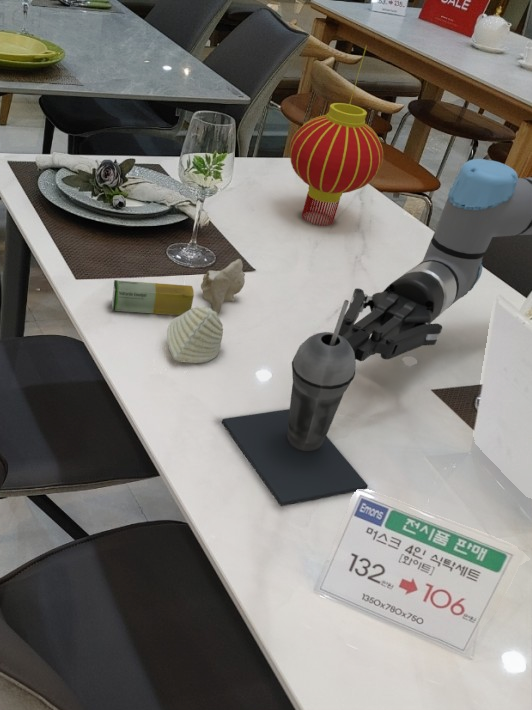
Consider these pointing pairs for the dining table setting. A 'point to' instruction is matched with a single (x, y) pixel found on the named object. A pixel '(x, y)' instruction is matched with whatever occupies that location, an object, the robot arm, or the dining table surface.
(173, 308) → the medication box
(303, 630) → the dining table surface
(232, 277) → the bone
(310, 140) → the lantern
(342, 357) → the beverage cup
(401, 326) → the robot arm
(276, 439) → the mat
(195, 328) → the seashell
